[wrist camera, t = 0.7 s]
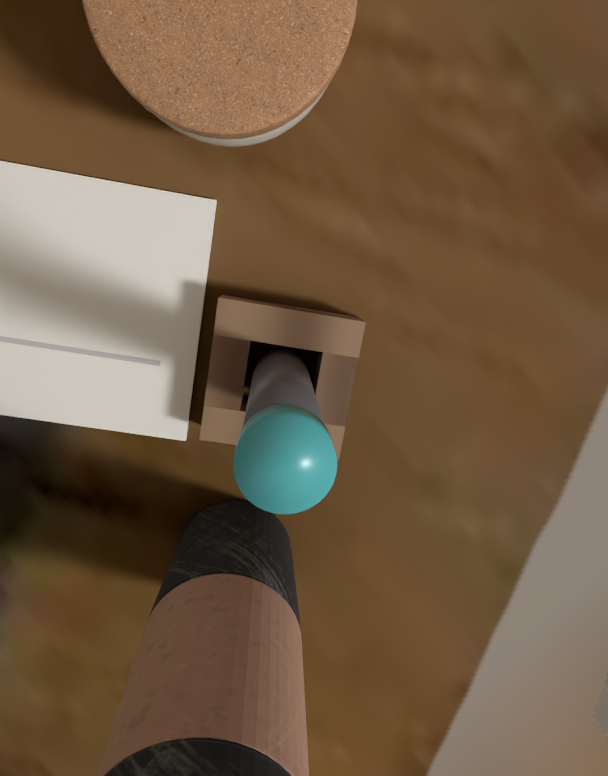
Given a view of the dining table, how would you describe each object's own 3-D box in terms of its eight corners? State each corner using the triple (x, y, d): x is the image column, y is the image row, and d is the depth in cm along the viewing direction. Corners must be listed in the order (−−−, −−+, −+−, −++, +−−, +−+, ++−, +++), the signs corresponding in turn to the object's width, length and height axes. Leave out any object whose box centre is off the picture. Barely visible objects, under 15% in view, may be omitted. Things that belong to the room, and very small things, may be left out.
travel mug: (150, 541, 34) (-12, 909, 15) (246, 472, 34) (207, 765, 14) (225, 623, 36) (167, 1050, 17) (318, 559, 35) (372, 928, 16)
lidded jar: (281, -104, 27) (284, -292, 18) (369, 111, 29) (412, 44, 20) (90, -1, 27) (-2, -132, 18) (192, 201, 30) (156, 175, 21)
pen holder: (205, 426, 33) (199, 439, 30) (222, 294, 31) (218, 297, 29) (334, 445, 33) (338, 459, 31) (358, 317, 32) (365, 321, 29)
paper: (-163, 389, 31) (-168, 390, 31) (-169, 130, 28) (-174, 128, 28) (186, 439, 33) (185, 441, 33) (216, 200, 30) (216, 200, 29)
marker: (248, 395, 32) (226, 507, 18) (256, 340, 32) (240, 409, 17) (304, 403, 33) (327, 520, 18) (313, 349, 32) (345, 424, 17)
